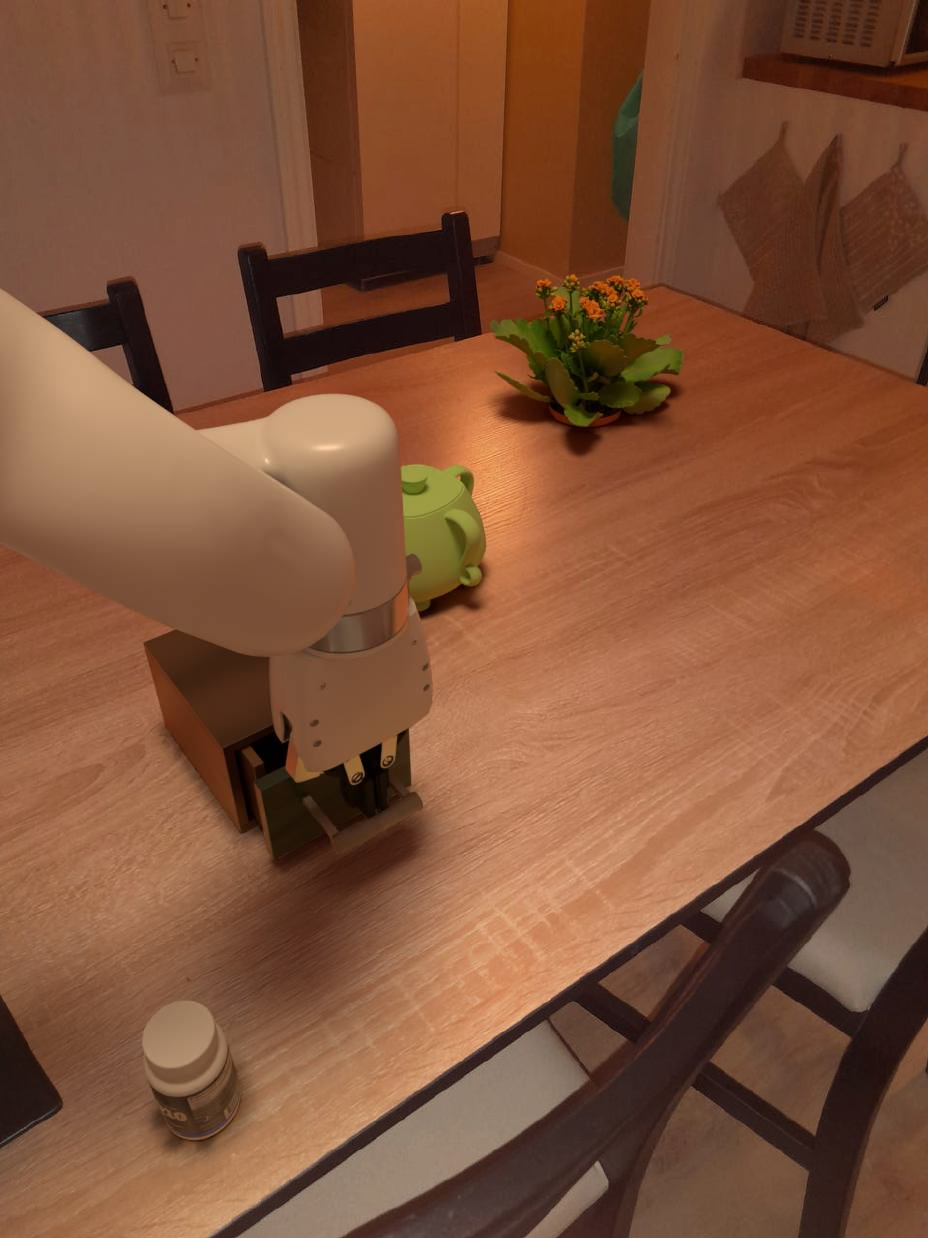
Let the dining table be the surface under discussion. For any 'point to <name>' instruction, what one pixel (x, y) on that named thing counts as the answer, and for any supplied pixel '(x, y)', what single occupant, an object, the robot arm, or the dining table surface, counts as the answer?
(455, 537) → the teapot
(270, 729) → the cabinet
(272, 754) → the drawer
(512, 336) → the potted flower
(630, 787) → the dining table surface
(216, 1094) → the pill bottle
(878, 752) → the dining table surface
